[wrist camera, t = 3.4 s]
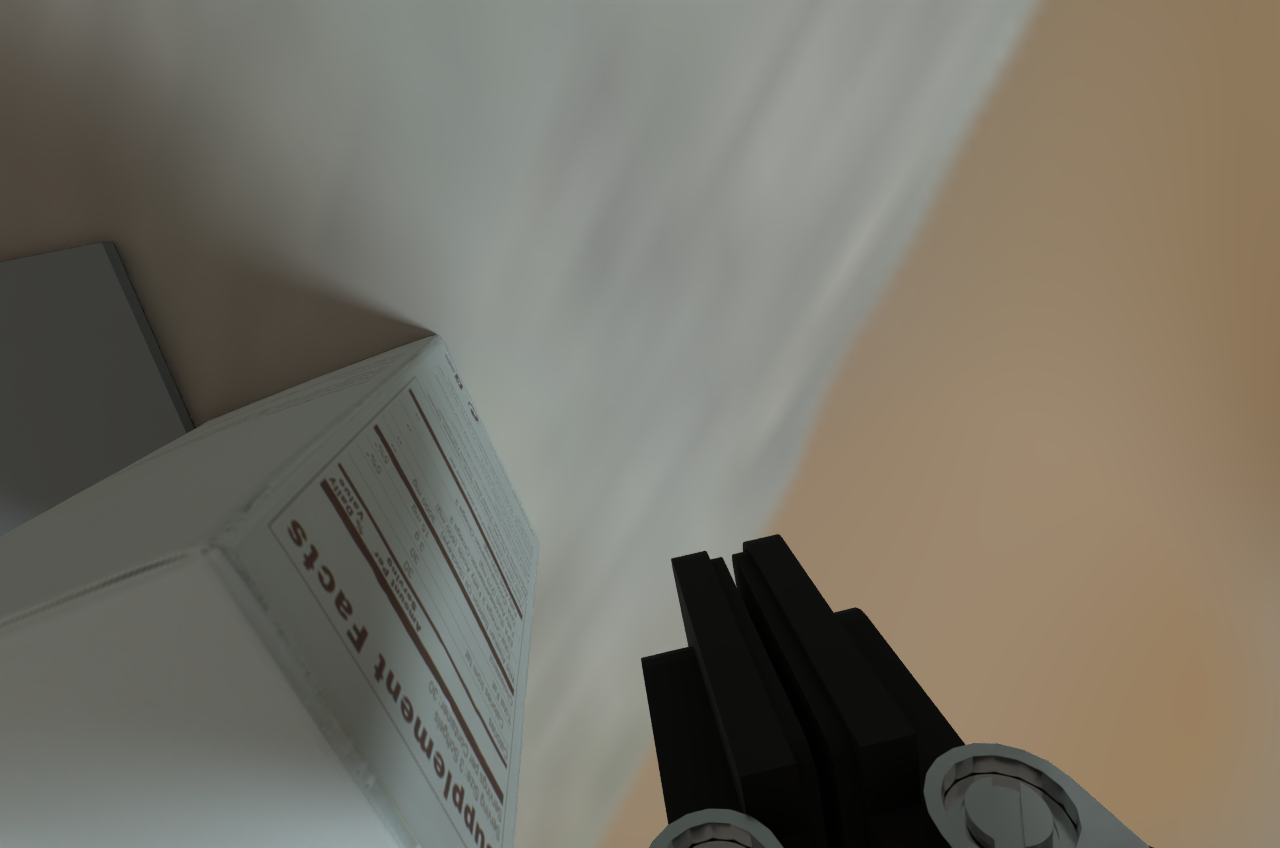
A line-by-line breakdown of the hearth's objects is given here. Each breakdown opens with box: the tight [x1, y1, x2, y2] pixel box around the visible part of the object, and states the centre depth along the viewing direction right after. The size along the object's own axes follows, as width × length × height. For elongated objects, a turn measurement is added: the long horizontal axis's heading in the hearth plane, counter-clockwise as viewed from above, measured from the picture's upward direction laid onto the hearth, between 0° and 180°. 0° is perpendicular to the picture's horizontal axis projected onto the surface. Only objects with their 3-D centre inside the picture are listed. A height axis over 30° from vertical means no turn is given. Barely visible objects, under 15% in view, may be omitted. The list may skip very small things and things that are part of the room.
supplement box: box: [0, 335, 539, 848], centre depth 13 cm, size 7×7×13 cm
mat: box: [0, 242, 194, 536], centre depth 19 cm, size 12×18×1 cm, turn 11°
